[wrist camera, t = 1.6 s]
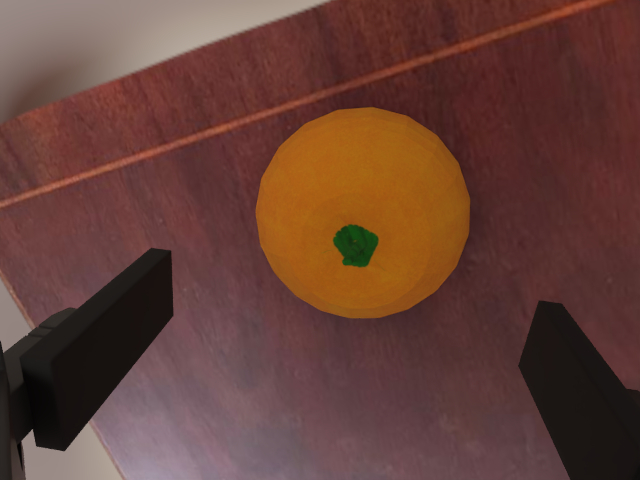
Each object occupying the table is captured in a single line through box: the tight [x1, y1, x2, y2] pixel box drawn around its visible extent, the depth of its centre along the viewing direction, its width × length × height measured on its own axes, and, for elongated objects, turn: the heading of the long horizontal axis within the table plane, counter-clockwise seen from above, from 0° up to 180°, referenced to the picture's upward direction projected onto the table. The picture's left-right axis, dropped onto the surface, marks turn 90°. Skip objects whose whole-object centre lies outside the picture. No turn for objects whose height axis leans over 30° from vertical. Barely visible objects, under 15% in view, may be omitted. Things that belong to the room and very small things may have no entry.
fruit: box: [256, 107, 470, 318], centre depth 24 cm, size 12×12×10 cm
